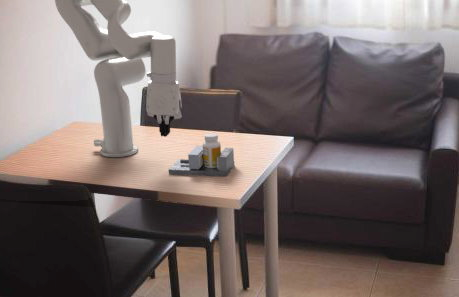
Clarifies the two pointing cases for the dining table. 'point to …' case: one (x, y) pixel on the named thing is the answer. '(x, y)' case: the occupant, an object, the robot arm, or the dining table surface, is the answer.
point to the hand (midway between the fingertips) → (164, 135)
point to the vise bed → (223, 168)
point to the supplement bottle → (211, 150)
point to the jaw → (195, 158)
